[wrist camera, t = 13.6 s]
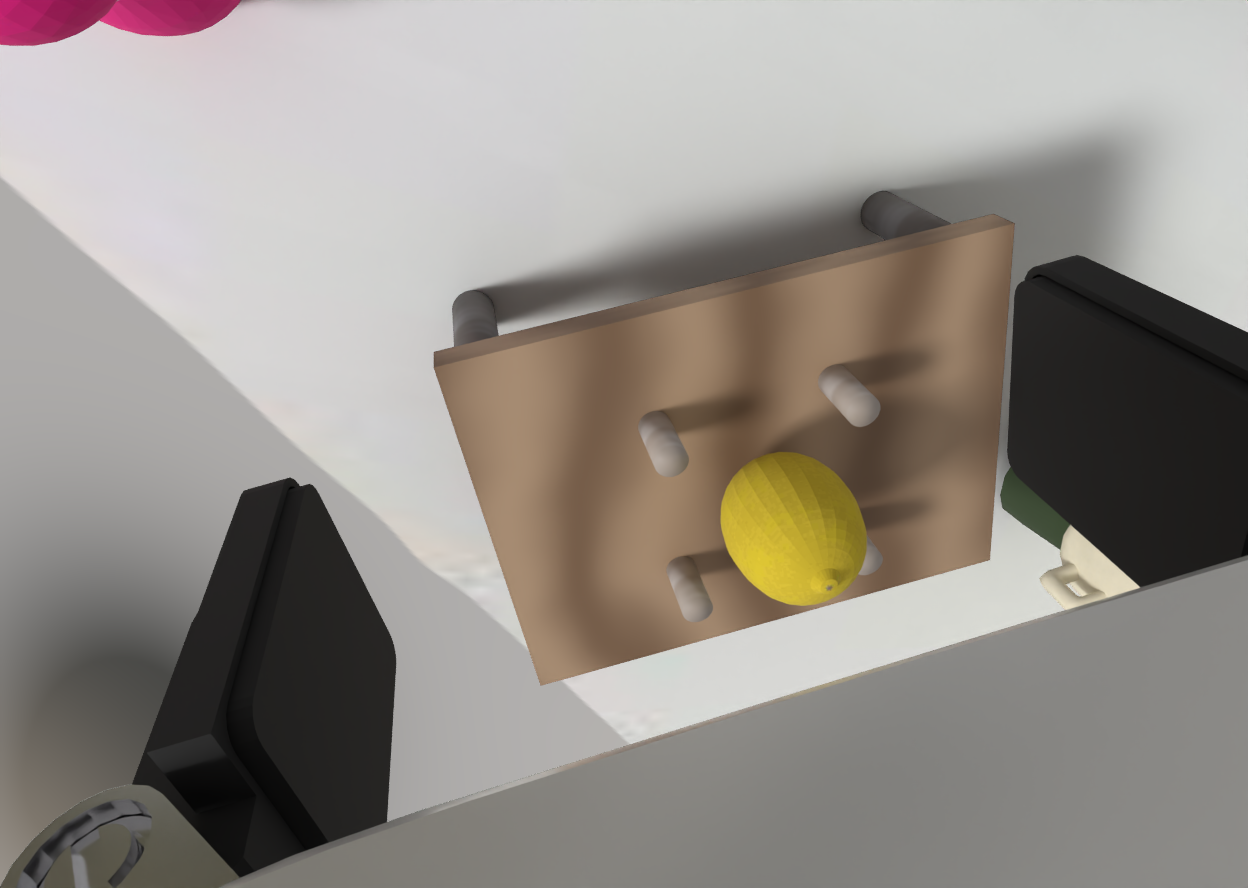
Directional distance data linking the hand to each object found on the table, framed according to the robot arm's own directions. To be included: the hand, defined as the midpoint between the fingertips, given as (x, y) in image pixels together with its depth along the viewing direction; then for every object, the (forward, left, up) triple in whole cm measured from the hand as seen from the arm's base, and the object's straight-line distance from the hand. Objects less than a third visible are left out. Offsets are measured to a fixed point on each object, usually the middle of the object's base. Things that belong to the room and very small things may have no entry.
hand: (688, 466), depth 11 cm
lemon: (-7, +16, -21) cm, 27 cm away
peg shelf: (-6, +16, -30) cm, 35 cm away
